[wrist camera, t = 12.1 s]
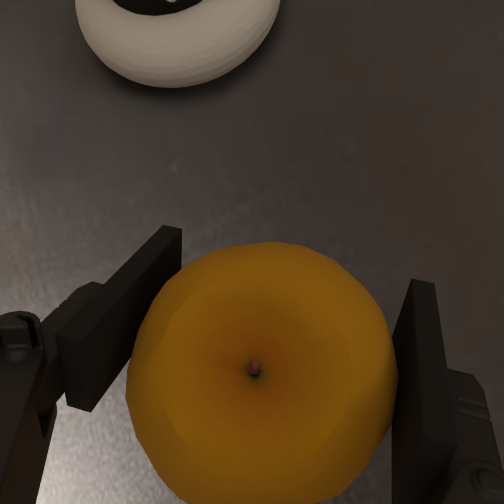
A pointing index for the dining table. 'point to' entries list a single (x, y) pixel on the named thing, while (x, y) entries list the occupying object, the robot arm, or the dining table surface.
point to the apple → (262, 378)
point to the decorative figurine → (174, 37)
